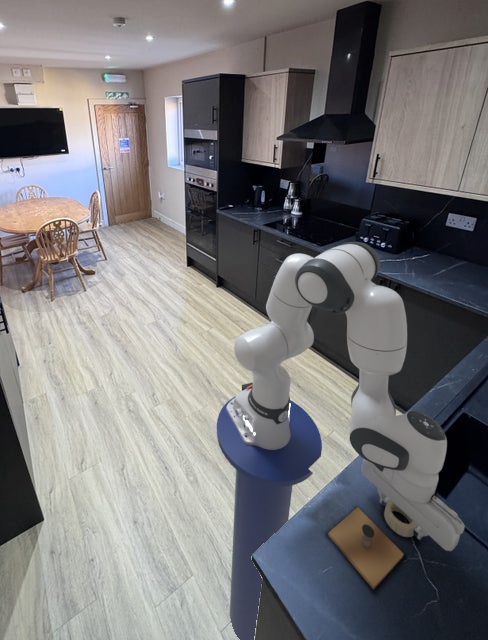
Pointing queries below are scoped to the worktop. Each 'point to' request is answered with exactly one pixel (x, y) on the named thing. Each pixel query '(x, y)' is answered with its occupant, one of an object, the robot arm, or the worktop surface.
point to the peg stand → (366, 547)
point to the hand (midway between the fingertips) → (400, 518)
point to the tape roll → (397, 525)
